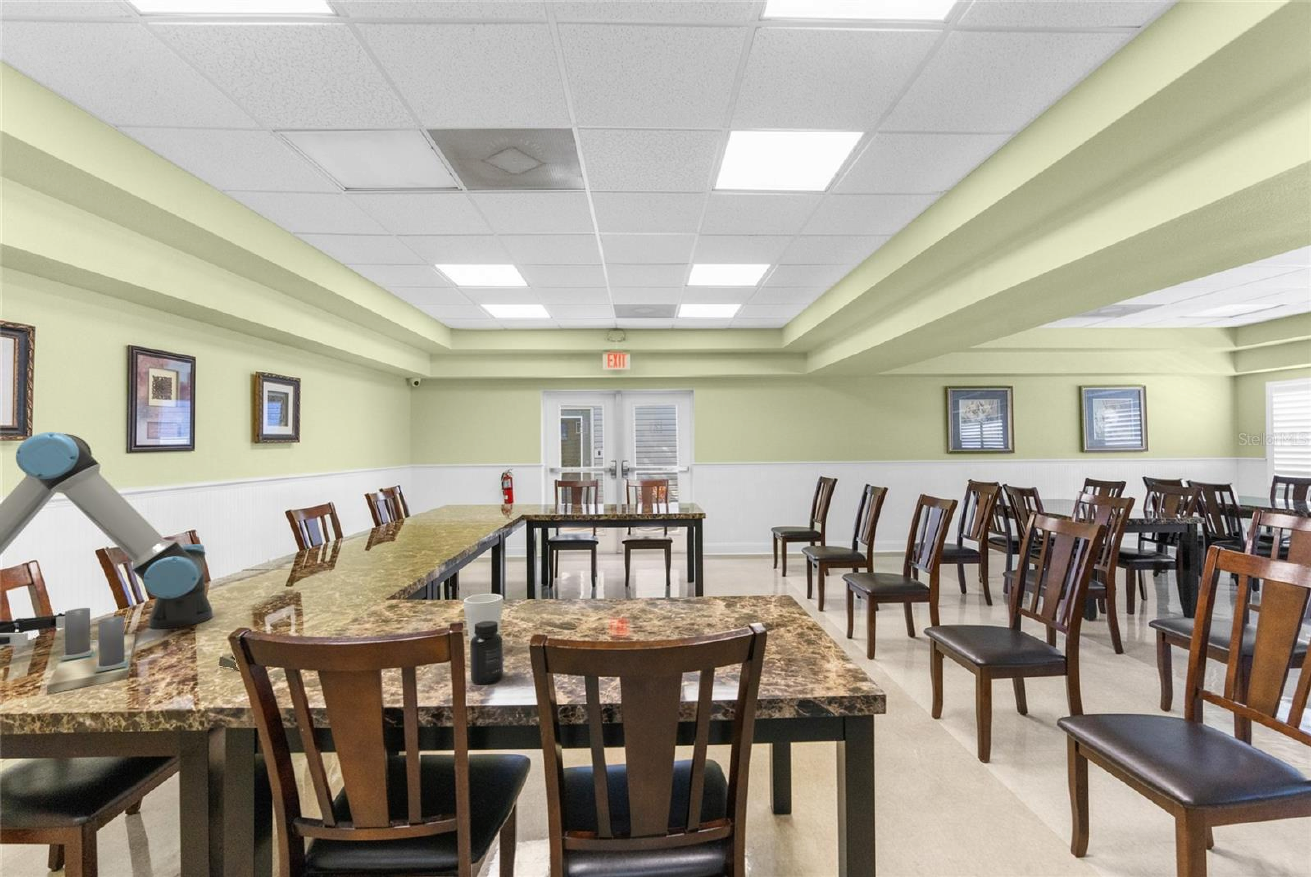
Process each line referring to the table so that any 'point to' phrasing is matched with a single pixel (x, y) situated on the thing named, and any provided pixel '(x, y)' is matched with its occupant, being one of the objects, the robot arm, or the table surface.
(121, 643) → the grey tall block
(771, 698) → the table surface
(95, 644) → the switch bank
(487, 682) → the supplement bottle
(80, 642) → the grey upright block
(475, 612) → the foam cup
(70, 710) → the table surface
